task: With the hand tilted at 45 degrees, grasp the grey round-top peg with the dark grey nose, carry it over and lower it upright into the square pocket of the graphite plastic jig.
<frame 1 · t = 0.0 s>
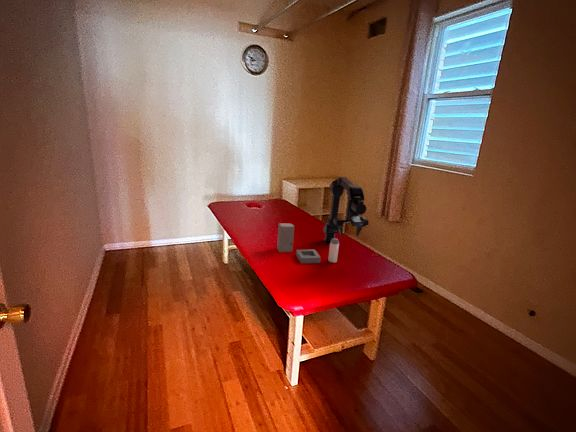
hand: (349, 236, 174), 15 cm above the table, tool pointing down, fingers open, 9 cm apart
skincare box: (284, 250, 188), on the table
jig: (307, 258, 178), on the table
grey round-top peg: (332, 260, 177), on the table
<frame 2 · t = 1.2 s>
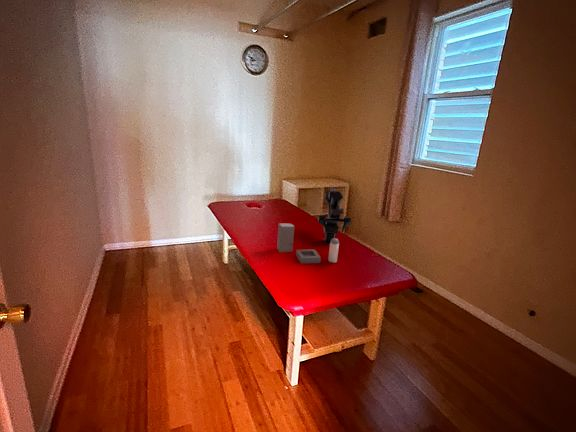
hand: (334, 233, 181), 13 cm above the table, tool tilted 45°, fingers open, 9 cm apart
nothing on the table moved.
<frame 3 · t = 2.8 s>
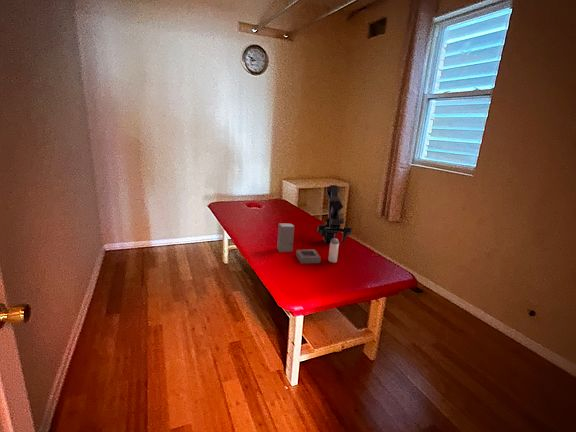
hand: (334, 243, 176), 10 cm above the table, tool tilted 45°, fingers open, 9 cm apart
nothing on the table moved.
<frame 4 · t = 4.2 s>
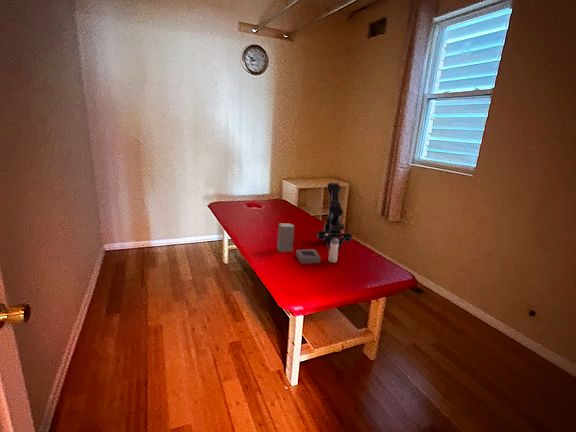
hand: (334, 250, 174), 7 cm above the table, tool tilted 45°, fingers closed on grey round-top peg, 5 cm apart
grey round-top peg: (332, 260, 177), on the table, touching gripper
everything else where it was.
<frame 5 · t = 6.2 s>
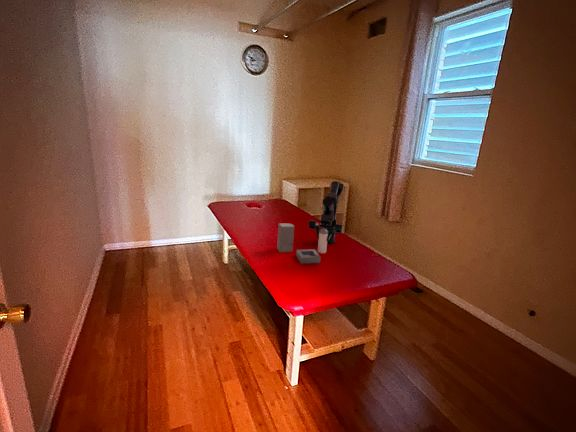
hand: (322, 240, 172), 13 cm above the table, tool tilted 45°, fingers closed on grey round-top peg, 5 cm apart
grey round-top peg: (321, 251, 175), point 6 cm above the table, touching gripper
everything else where it was.
when the fingers open (9 cm above the table, at t = 8.0 s): grey round-top peg stays where it is, resting on jig.
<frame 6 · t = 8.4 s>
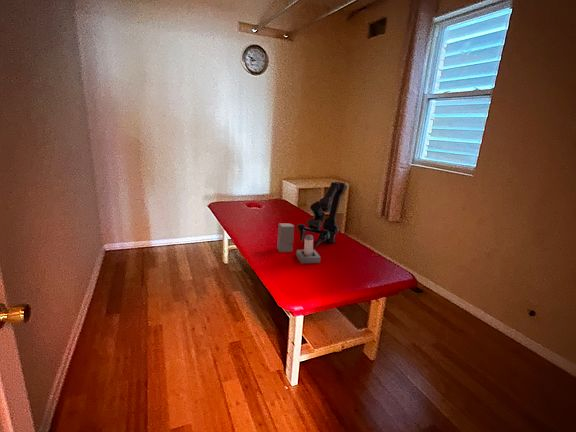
hand: (308, 244, 174), 9 cm above the table, tool tilted 45°, fingers open, 9 cm apart
grey round-top peg: (308, 256, 177), point 1 cm above the table, touching jig
everything else where it was.
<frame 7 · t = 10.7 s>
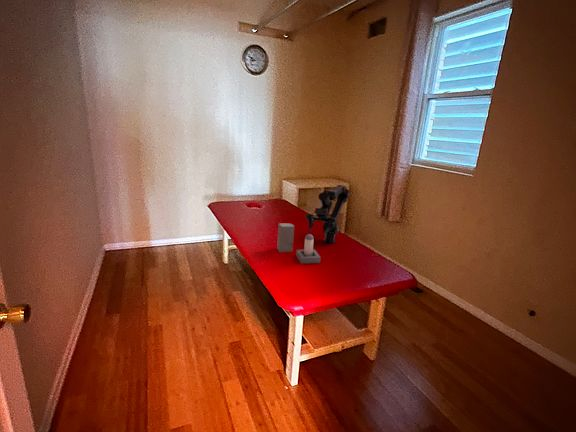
hand: (316, 232, 181), 13 cm above the table, tool tilted 45°, fingers open, 9 cm apart
nothing on the table moved.
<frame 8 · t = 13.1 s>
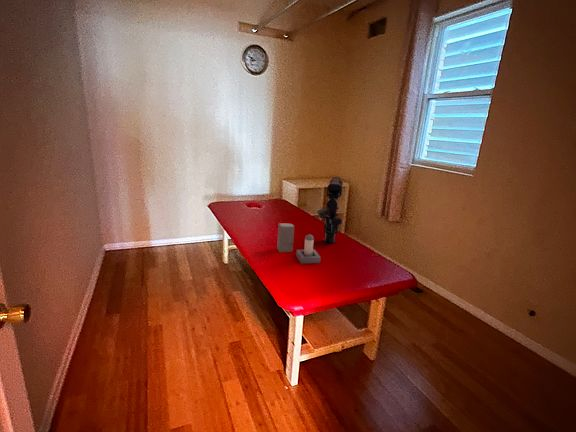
hand: (329, 230, 187), 13 cm above the table, tool pointing down, fingers open, 9 cm apart
nothing on the table moved.
at the end: grey round-top peg 0.0 cm off-centre on the jig, point 1.3 cm above the jig's base; grey round-top peg tilted 1°; the gripper is holding nothing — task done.
